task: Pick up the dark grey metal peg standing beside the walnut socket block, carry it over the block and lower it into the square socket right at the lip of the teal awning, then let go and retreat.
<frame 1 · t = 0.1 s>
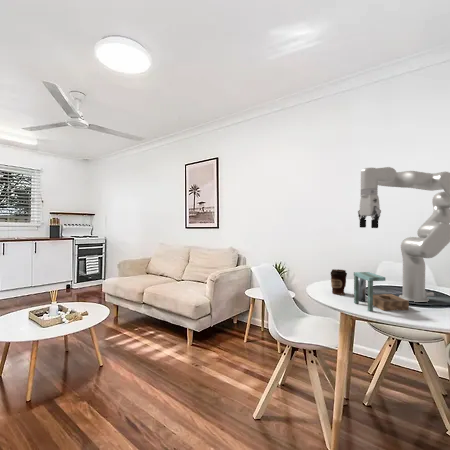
hand: (368, 227, 142), 37 cm above the table, tool pointing down, fingers open, 9 cm apart
peg: (361, 300, 143), on the table
coffee cup: (338, 293, 157), on the table
socket station: (387, 306, 134), on the table
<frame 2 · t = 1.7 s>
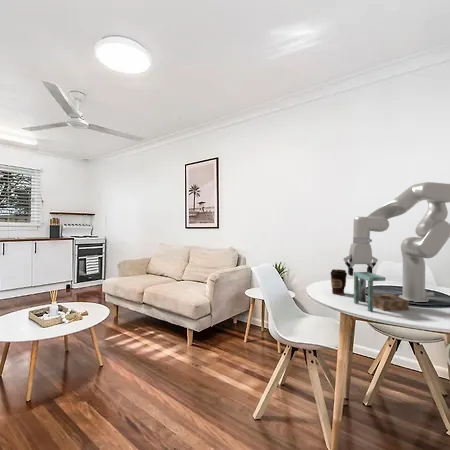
hand: (360, 275, 143), 13 cm above the table, tool pointing down, fingers open, 9 cm apart
nothing on the table moved.
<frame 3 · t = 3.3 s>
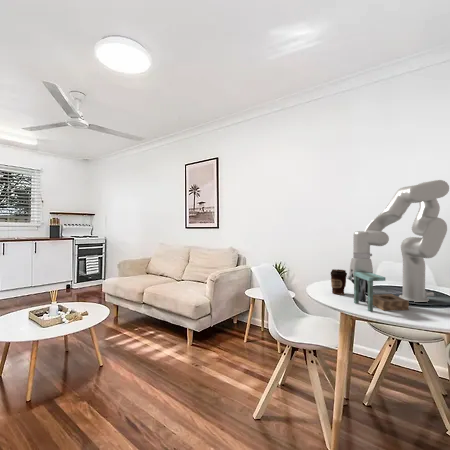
hand: (361, 292, 143), 4 cm above the table, tool pointing down, fingers closed on peg, 4 cm apart
peg: (361, 300, 143), on the table, touching gripper
everything else where it was.
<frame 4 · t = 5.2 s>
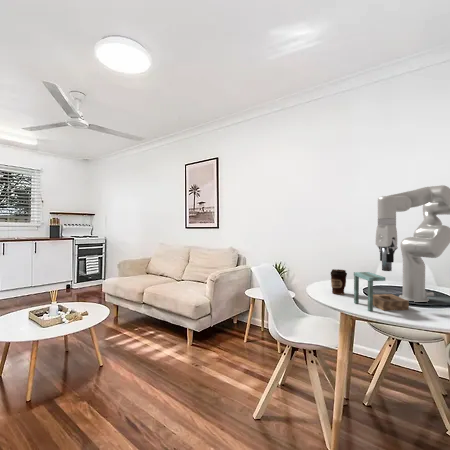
hand: (386, 261, 134), 21 cm above the table, tool pointing down, fingers closed on peg, 4 cm apart
peg: (386, 270, 134), point 17 cm above the table, touching gripper
everything else where it was.
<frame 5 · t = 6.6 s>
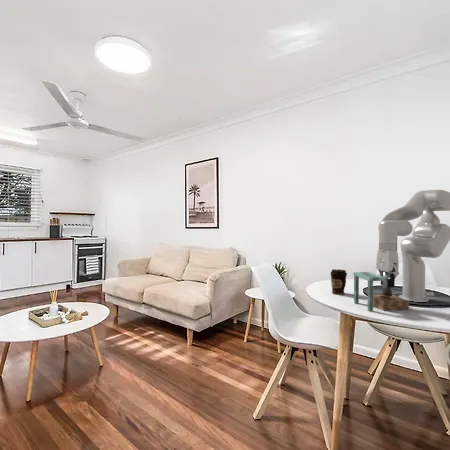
hand: (387, 285, 134), 10 cm above the table, tool pointing down, fingers closed on peg, 4 cm apart
peg: (387, 294, 134), point 5 cm above the table, touching gripper
everything else where it was.
when the fingers open (6 cm above the table, at t = 7.6 s): peg drops 1 cm, resting in socket station.
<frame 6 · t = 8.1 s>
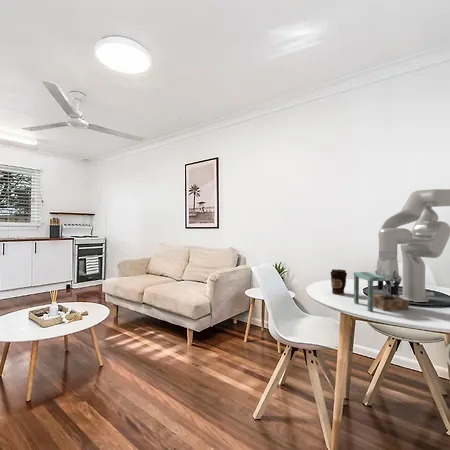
hand: (387, 291, 134), 7 cm above the table, tool pointing down, fingers open, 9 cm apart
peg: (387, 306, 134), resting in socket station
everything else where it was.
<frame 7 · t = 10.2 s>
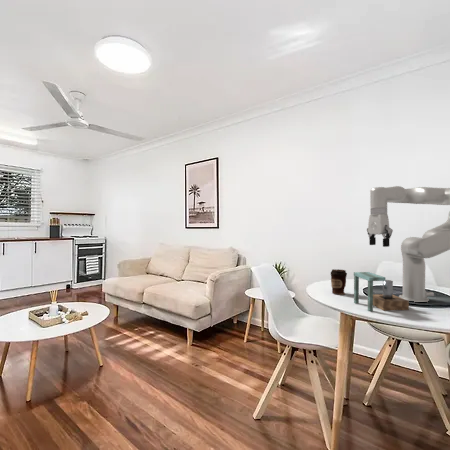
hand: (379, 245, 144), 27 cm above the table, tool pointing down, fingers open, 9 cm apart
nothing on the table moved.
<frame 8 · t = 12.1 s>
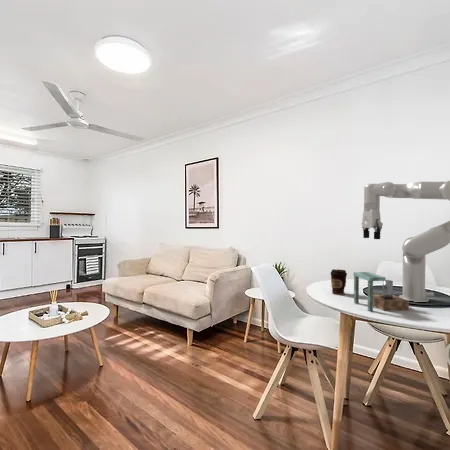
hand: (371, 238, 155), 30 cm above the table, tool pointing down, fingers open, 9 cm apart
nothing on the table moved.
at the end: peg 0.1 cm from the socket station (horizontally); peg resting in socket station; peg tilted 0° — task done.
